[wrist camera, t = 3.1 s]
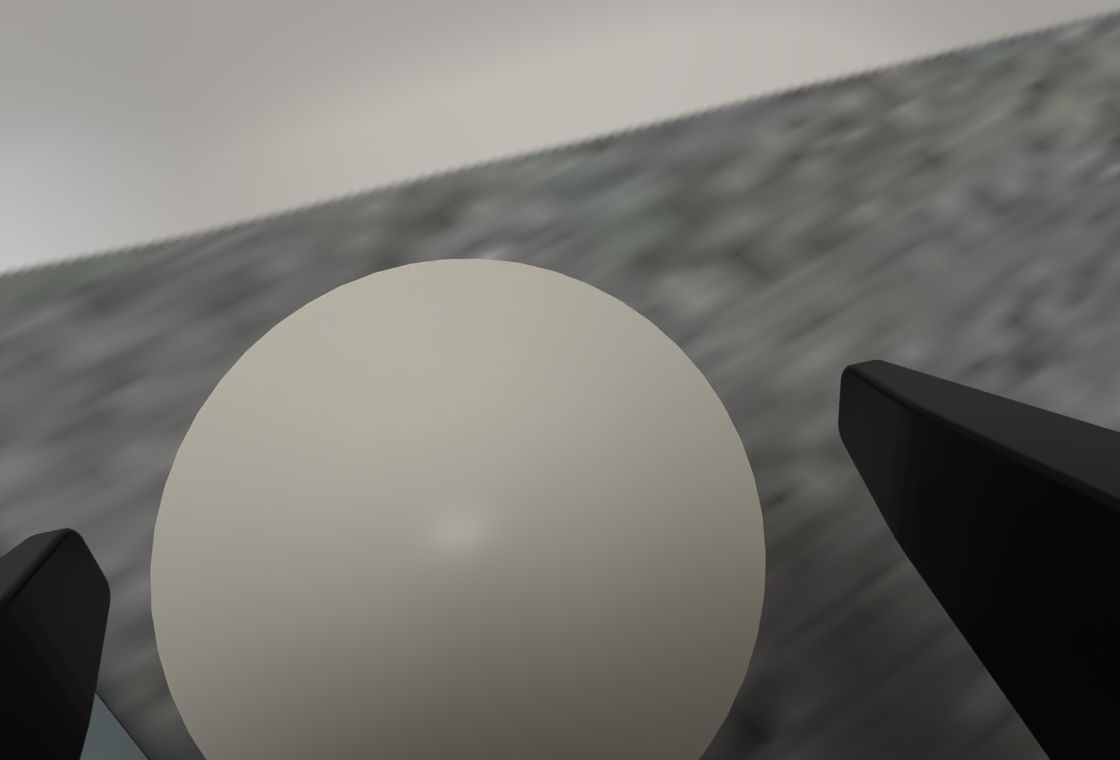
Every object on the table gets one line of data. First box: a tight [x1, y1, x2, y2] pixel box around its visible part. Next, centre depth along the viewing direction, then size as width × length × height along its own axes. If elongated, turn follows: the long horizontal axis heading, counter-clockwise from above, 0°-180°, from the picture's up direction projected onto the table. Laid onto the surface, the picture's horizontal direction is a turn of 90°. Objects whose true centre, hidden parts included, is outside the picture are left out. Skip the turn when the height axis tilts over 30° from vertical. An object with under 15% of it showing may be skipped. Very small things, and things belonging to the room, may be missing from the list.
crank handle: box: [151, 259, 766, 760], centre depth 10 cm, size 6×5×12 cm
